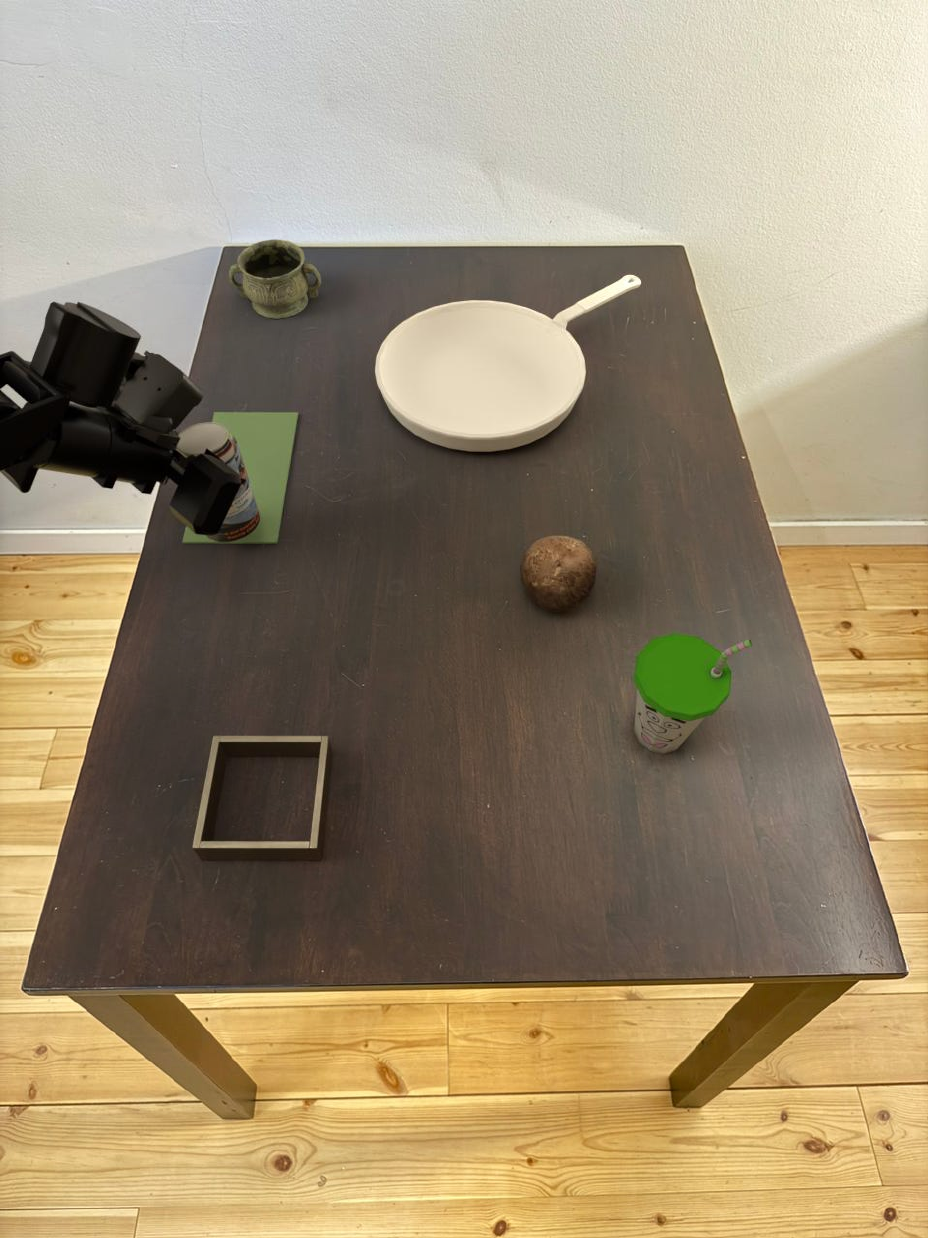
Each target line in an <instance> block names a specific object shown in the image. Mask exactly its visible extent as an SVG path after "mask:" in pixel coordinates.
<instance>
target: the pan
mask: <svg viewBox="0 0 928 1238" xmlns="http://www.w3.org/2000/svg"><path fill="white" fill-rule="evenodd" d="M641 284H642V282H641V279H640V277H638V276H636V275H633V274H627V275H623V277H622V278H620V279H619V280H617V281H615V282H613V283H612V284H610V285H607V286H606V287H604V288H602V289H600V290H598V291H596V292H594V293H592V294H590V295H588V296H587V297H585V298H583V299H580V300H578V301H577V302H575V303H574V304H573V305H571V306H570V307H567V308H565V309H564V310H561V311H560V312H558V313H556V315H554V317H553V318H551V317H549V316H547V315H545V314H544V313H541V312H539V311H536V310H534V309H532V308H529V307H525V306H522V305H519V304H514V303H511V302H506V301H505V302H504V301H496V300H481V299H480V300H477V299H476V300H470V299H469V300H461V301H453V302H448V303H444V304H440V305H435V306H432V307H430V308H426V309H424V310H422V311H419V312H417V313H415V314H414V315H411V316H410V317H408V318H407V319H405V320H403V321H402V322H400V323H399V324H398V325H397V326H396V327H394V329H392V330H391V331H390V332H389V334H388V335H387V336H386V337H385V339H384V340H383V342H382V343H381V344H380V347H379V350H378V352H377V354H376V357H375V365H374V366H375V367H374V373H375V380H376V384H377V387H378V389H379V391H380V393H381V397H382V398H383V400H384V402H385V404H386V406H387V408H388V410H389V411H390V413H391V414H392V416H394V417H395V419H396V420H397V421H398V422H399V423H400V424H401V425H402V426H403V427H404V428H406V429H407V430H408V431H410V432H411V433H412V434H413V435H415V436H416V437H419V438H420V439H423V440H424V441H427V442H429V443H431V444H435V445H437V446H441V447H444V448H446V449H447V448H448V449H451V450H457V451H465V452H479V453H480V452H481V453H482V452H483V453H484V452H488V453H489V452H497V451H506V450H511V449H515V448H518V447H521V446H525V445H528V444H531V443H533V442H535V441H537V440H539V439H541V438H544V437H545V436H547V435H548V434H549V433H551V432H552V431H553V430H555V429H557V428H559V426H560V425H561V424H562V422H563V421H564V420H565V419H566V418H567V417H568V416H569V415H570V413H571V412H572V410H573V408H574V406H575V404H576V402H577V400H578V399H579V396H580V394H581V392H582V391H583V388H584V386H585V380H586V376H587V374H586V373H587V370H586V369H587V368H586V361H585V356H584V354H583V352H582V349H581V346H580V345H579V343H577V341H576V339H575V338H574V336H573V335H572V334H571V333H570V332H569V331H568V330H567V326H568V323H569V322H570V321H572V320H575V319H576V318H578V317H580V316H582V315H584V314H587V313H589V312H592V311H594V310H595V309H597V308H599V307H601V306H603V305H604V304H607V303H609V302H610V301H612V300H614V299H617V298H618V297H620V296H622V295H623V294H625V293H628V292H629V291H632V290H636V289H638V288H639V287H640V286H641Z"/></svg>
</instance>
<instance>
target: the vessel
mask: <svg viewBox="0 0 928 1238" xmlns="http://www.w3.org/2000/svg"><path fill="white" fill-rule="evenodd" d="M235 274H242V283H239V282H237V281H236V279H235V277H234V276H235ZM309 274H310V275H312V276H314V277H315V283H312V284H310V278H309ZM228 278H229V281H230V283H231V285H232V286H233V287H234V288H235V289H237V291H238V296H240V297H241V298H248V299H249V300H250V301H251V307H252V309H253V310H254V311H255V312H256V313H257V314H258V315H260V316H262V317H264V318H267V319H274V320H277V319H286V318H287V319H288V318H290V317H292V316H296V315H298V314H299V313H300V312H302V311H304V309H305V308H306V307H307V305H308V303H309V299H308V295H309V297H310V299H311V298H312V299H315V298H317V297H318V296H319V292H318V289H319V288H320V287H321V284H322V277H321V273H320V272H319V270H318V269H317V268H316V267H315V266H314V265H313V264H311V263H305V253H304V251H303V249H302V248H301V247H300V246H298V244H296V243H294V242H292V241H289V240H282V239H277V238H276V239H268V240H267V239H266V240H261V241H258V242H255V243H253V244H251V245H249V246H248V247H246V248H244V249H243V250H242V251H241V252H240V254H239V255H238V257H237V263H235V264H231V266H230V268H229V271H228ZM307 293H308V294H307Z"/></svg>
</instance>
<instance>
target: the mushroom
mask: <svg viewBox="0 0 928 1238" xmlns="http://www.w3.org/2000/svg"><path fill="white" fill-rule="evenodd" d="M595 559H596V558H595V556H594V552H593V551H592V550H591V549H590V548H589V547H588V546H587V545H586V544H585V543H584V541H583V540H580V539H576V538H575V537H572V536H570V535H549V536H546V537H542V538H540V539H538V540H537V539H536V540H535V541H534V543H532V544H531V546H530V547H528V549H527V550H525V551H524V554H523V557H522V560H521V562H520V565H519V569H520V570H519V573H520V583H521V584H522V587H523V589H524V592H525V594H526V595H527V596H528V597H529V598H530V599H531V600H532V601H533V603H535V604H536V605H537V606H538V607H541V608H542V609H543V610H545V611H547V612H548V613H567V612H569V611H571V610H574V609H576V608H579V607H581V605H582V604H583V603H585V601H586V600H587V599H588V598H589V597H590V595H591V593H592V591H593V589H594V586H595V584H596V580H597V571H598V570H597V568H598V567H597V563H596V560H595Z"/></svg>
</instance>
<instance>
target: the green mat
mask: <svg viewBox="0 0 928 1238" xmlns="http://www.w3.org/2000/svg"><path fill="white" fill-rule="evenodd" d="M298 419H299V412H298V411H296V412H295V411H294V412H293V411H291V412H289V411H287V412H286V411H284V412H280V411H278V412H277V411H273V412H272V411H271V412H269V411H267V412H265V411H262V412H261V411H259V412H257V411H252V412H251V411H249V412H248V411H243V412H242V411H215V412H213V416H212V420H211V422H213V423H218V424H220V425H222V426H224V427H225V428H226V429H227V431H228V432H229V433H230V434H232V435H233V436H234V438H235V439H236V441H237V443H238V446H239V449H240V453H241V456H242V459H243V462H244V465H245V469H246V472H247V475H248V478H249V481H250V485H251V488H252V491H253V494H254V497H255V501H256V504H257V507H258V510H259V513H260V522H259V524H258V526H257V527H256V529H255V530H254V531H253V532H252V533H250V534H249V535H248V536H246V537H245V538H243V539H240V540H238V541H233V542H218V541H214V540H211V539H209V538H208V537H207V536H206V535H199V534H195V533H194V532H193V531H192V530H191V529H189V528H188V527H187V526H186V525H185V529H184V533H183V537H182V541H181V543H182V544H184V545H185V544H187V545H188V544H197V545H198V544H202V545H203V544H205V545H207V544H211V545H212V544H213V545H214V544H217V545H219V544H221V545H225V544H229V545H230V544H231V545H232V544H237V545H238V544H240V545H241V544H242V545H243V544H244V545H246V544H247V545H250V544H252V545H257V544H259V545H272V544H273V545H277V544H278V543H279V537H280V535H279V534H280V530H281V523H282V518H283V512H284V505H285V499H286V493H287V487H288V481H289V475H290V469H291V463H292V457H293V451H294V446H295V445H294V444H295V438H296V433H297V427H298Z"/></svg>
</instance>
